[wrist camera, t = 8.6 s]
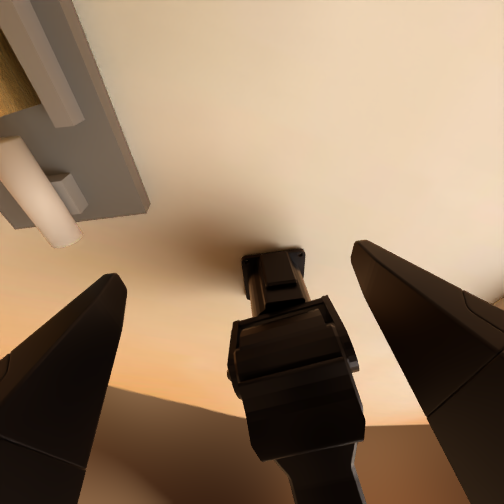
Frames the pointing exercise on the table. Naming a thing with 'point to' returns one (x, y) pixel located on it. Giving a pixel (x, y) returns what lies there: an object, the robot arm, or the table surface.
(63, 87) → the shaft stand
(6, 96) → the block
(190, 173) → the table surface
